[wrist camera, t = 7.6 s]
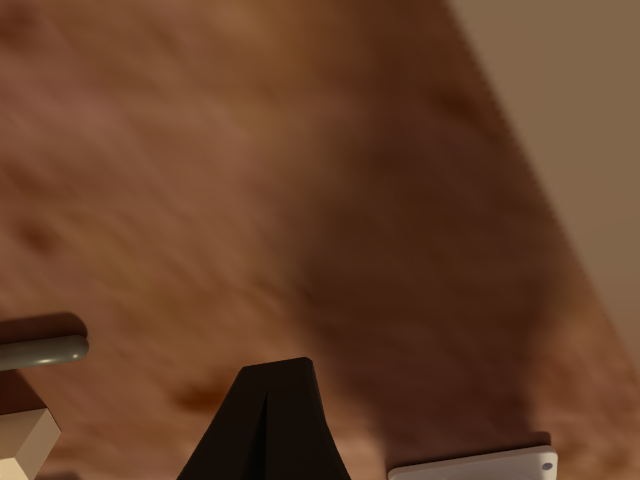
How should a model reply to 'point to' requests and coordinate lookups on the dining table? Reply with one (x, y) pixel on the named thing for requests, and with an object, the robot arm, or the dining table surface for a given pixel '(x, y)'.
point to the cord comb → (25, 443)
